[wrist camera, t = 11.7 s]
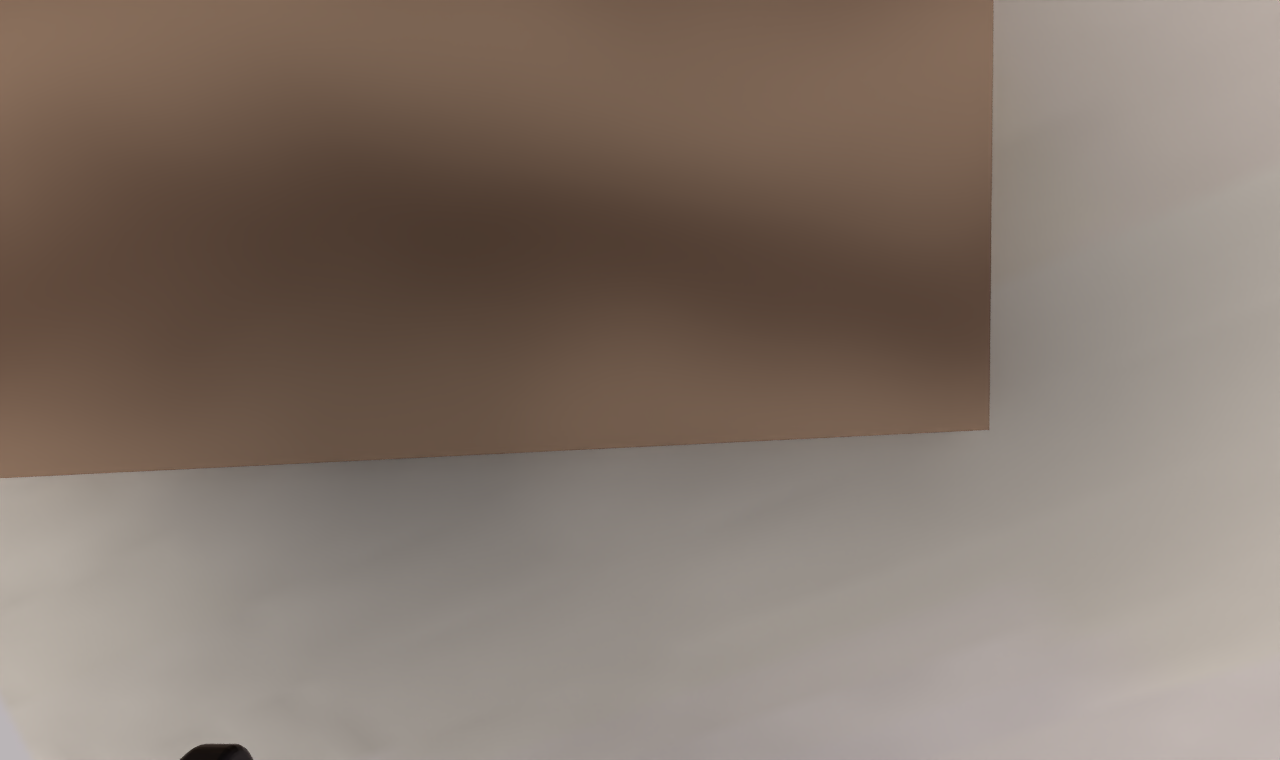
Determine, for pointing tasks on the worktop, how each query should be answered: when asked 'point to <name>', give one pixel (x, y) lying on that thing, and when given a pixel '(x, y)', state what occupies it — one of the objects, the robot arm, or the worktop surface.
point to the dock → (486, 227)
